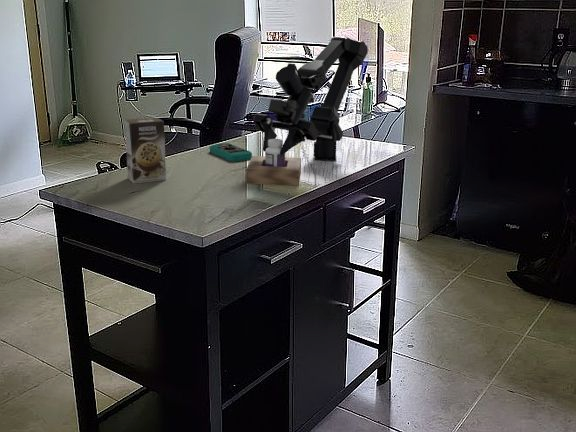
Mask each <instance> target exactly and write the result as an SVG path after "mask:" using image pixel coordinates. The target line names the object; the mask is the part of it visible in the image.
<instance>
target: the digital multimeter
mask: <svg viewBox="0 0 576 432" xmlns="http://www.w3.org/2000/svg"><path fill="white" fill-rule="evenodd" d="M210 152H212V153H211V154H213V153H214V154H213V155H215V154H216V156H218V155H219V157H220V156H221V158H222V157H223V159H225V160H227V159H228V160H227V161H229V162H231V161H235V162H243V161H248V160H251V158H252V156H253V153H252V152H251V151H250V150H247V149H244V148H242V147H239V146H236V145H234V144H232V143H228V142H220V143H216V144H212V145H210V146H209V153H210Z"/></svg>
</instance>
